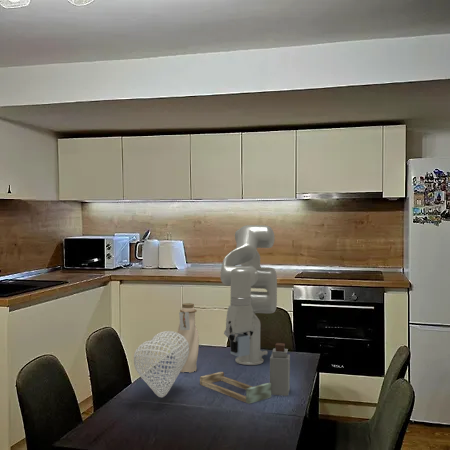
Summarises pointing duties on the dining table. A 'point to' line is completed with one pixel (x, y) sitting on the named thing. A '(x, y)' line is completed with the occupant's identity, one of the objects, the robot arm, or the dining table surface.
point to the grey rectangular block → (242, 345)
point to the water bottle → (189, 336)
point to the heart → (147, 353)
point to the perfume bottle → (280, 370)
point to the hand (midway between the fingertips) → (240, 350)
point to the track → (251, 392)
